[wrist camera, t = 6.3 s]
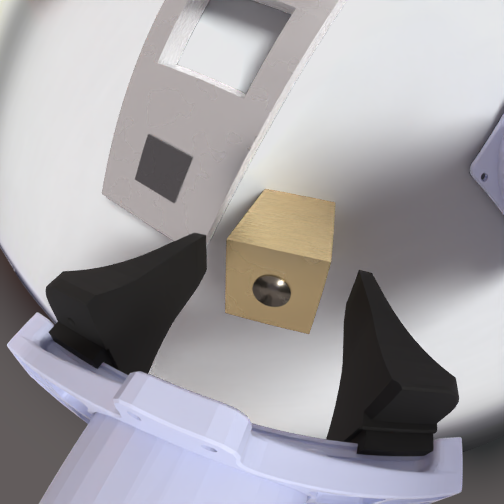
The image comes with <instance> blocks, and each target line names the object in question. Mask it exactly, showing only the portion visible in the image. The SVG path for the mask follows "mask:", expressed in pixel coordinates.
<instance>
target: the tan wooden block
mask: <svg viewBox="0 0 504 504" xmlns="http://www.w3.org/2000/svg"><path fill="white" fill-rule="evenodd" d="M334 217H335V203H334V202H330V201H325V200H320V199H316V198H311V197H306V196H301V195H296V194H291V193H285V192H280V191H274V190H269V189H265V190H264V191H263V192H262V193H261V195H260V196H259V197H258V199H257V200H256V201H255V202H254V204H253V205H252V206H251V208H250V209H249V210H248V212H247V213H246V214H245V215H244V217H243V218H242V219H241V221H240V222H239V223H238V225H237V226H236V227H235V229H234V230H233V231H232V233H231V234H230V235H229V237H228V238H227V240H226V291H225V313H228V314H231V315H235V316H239V317H242V318H246V319H250V320H254V321H258V322H261V323H265V324H269V325H273V326H277V327H281V328H285V329H290V330H294V331H298V332H302V333H307V334H309V333H310V330H311V327H312V324H313V321H314V318H315V315H316V311H317V308H318V305H319V302H320V299H321V295H322V292H323V289H324V285H325V282H326V278H327V275H328V271H329V268H330V264H331V257H332V245H333V232H334Z"/></svg>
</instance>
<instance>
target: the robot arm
mask: <svg viewBox="0 0 504 504" xmlns="http://www.w3.org/2000/svg"><path fill="white" fill-rule="evenodd" d="M483 173H485V178H484V179H483V180H481V175H482V174H483ZM470 174H471V175H472V177H473V178H474V179H475V180H476V181H477V183H478V184H479V185H480V186H481V187H482V188H483V190H484V191H485V192H486V193H487V194H488V196H489V197H490V198H491V199H492V201H493V202H494V203H495V204H496V206H497V207H498V208H499V210H500V211H501V212H502V214H503V215H504V114H503V115H502V117H501V119H500V121H499V122H498V124H497V126H496V127H495V129H494V131H493V132H492V134H491V135H490V137H489V139H488V140H487V142H486V143H485V145H484V146H483V148H482V149H481V151H480V152H479V154H478V155H477V157H476V158H475V160H474V161H473V163H472V164H471V166H470ZM206 270H207V261H206V235H204V234H199V233H192V234H189V235H187V236H185V237H183V238H180V239H178V240H176V241H174V242H172V243H170V244H168V245H165V246H163V247H161V248H159V249H156V250H154V251H152V252H149V253H147V254H145V255H142V256H139V257H137V258H134V259H131V260H128V261H124V262H121V263H117V264H113V265H109V266H105V267H100V268H94V269H87V270H78V271H63V272H62V273H61V274H60V275H59V276H58V277H56V278H55V279H54V280H53V281H52V282H51V283H50V284H49V285H48V286H47V287H46V296H47V299H48V302H49V304H50V306H51V308H52V310H53V312H54V314H55V316H56V318H57V320H58V322H57V323H56V324H55V325H53V323H52V322H51V321H50V320H48V319H47V318H45V317H44V316H42V315H41V314H39V313H36V314H35V315H34V316H33V317H32V318H31V319H30V320H29V321H28V322H27V323H26V324H25V325H24V326H23V328H22V329H21V330H20V331H19V332H18V333H17V334H16V335H15V336H14V337H13V338H12V339H11V340H10V342H9V343H8V344H7V346H8V348H9V349H10V351H11V352H12V353H13V355H14V356H15V357H16V358H17V360H18V361H19V362H20V364H21V365H22V366H23V368H24V369H25V370H26V371H27V372H28V374H29V375H30V376H31V377H32V378H33V379H34V380H35V381H37V382H38V383H39V384H40V385H41V386H42V387H43V388H44V389H45V390H47V391H48V392H49V393H50V394H51V395H52V396H54V397H55V398H56V399H57V400H58V401H59V402H61V403H62V404H63V405H64V406H66V407H67V408H68V409H69V410H71V411H72V412H73V413H74V414H76V415H77V416H78V417H80V418H81V419H82V420H84V421H85V422H86V423H88V425H87V427H86V428H85V430H84V431H83V433H82V435H81V436H80V438H79V439H78V441H77V442H76V444H75V445H74V447H73V448H72V450H71V452H70V453H69V455H68V456H67V458H66V460H65V462H64V463H63V464H62V466H61V468H60V469H59V471H58V473H57V474H56V476H55V477H54V479H53V481H52V482H51V484H50V486H49V487H48V489H47V491H46V493H45V495H44V496H43V498H42V499H41V501H40V503H39V504H429V503H432V502H435V501H439V500H441V499H444V498H447V497H450V496H453V495H455V494H458V493H460V492H461V491H462V438H460V437H455V438H440V439H436V440H434V441H433V433H436V432H437V423H438V422H439V421H440V420H441V419H443V418H444V417H445V416H446V415H448V414H449V413H450V412H451V411H452V410H453V409H454V408H455V407H456V405H457V404H458V402H459V395H458V388H457V382H456V378H455V377H454V376H453V375H451V374H450V373H449V372H448V371H446V370H445V369H444V368H442V367H441V366H440V365H439V364H438V363H437V362H436V361H435V360H433V359H432V358H431V357H430V356H429V355H428V354H427V353H426V352H425V351H424V350H423V349H422V348H421V346H420V345H419V344H418V343H417V342H416V341H415V340H414V339H413V337H412V336H411V335H410V334H409V332H408V331H407V330H406V328H405V327H404V326H403V324H402V323H401V322H400V320H399V319H398V317H397V316H396V314H395V313H394V311H393V310H392V308H391V306H390V305H389V303H388V301H387V300H386V298H385V296H384V294H383V292H382V291H381V289H380V287H379V285H378V283H377V282H376V280H375V278H374V276H373V274H372V273H369V272H365V271H361V270H359V272H358V275H357V277H356V280H355V283H354V285H353V288H352V291H351V293H350V296H349V298H348V301H347V303H346V310H345V318H344V339H343V366H342V374H341V380H340V386H339V391H338V396H337V401H336V405H335V409H334V413H333V417H332V421H331V425H330V428H329V432H328V435H327V439H320V438H315V437H309V436H304V435H299V434H294V433H289V432H285V431H280V430H276V429H272V428H268V427H264V426H260V425H256V424H253V423H251V422H250V420H249V418H248V417H247V416H246V415H245V414H243V413H242V412H241V411H239V410H238V409H236V408H234V407H232V406H229V405H227V404H225V403H222V402H220V401H217V400H214V399H211V398H208V397H205V396H202V395H200V394H197V393H194V392H192V391H189V390H186V389H184V388H181V387H179V386H176V385H174V384H171V383H169V382H167V381H164V380H162V379H160V378H157V377H155V376H153V375H150V374H148V373H149V370H150V368H151V365H152V363H153V361H154V359H155V356H156V354H157V352H158V350H159V348H160V346H161V344H162V342H163V340H164V338H165V336H166V334H167V332H168V330H169V328H170V326H171V325H172V323H173V321H174V320H175V318H176V317H177V315H178V314H179V313H180V311H181V310H182V308H183V307H184V306H185V304H186V303H187V301H188V300H189V299H190V297H191V296H192V294H193V293H194V292H195V290H196V289H197V287H198V286H199V284H200V282H201V280H202V278H203V276H204V274H205V272H206Z"/></svg>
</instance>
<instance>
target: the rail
mask: <svg viewBox="0 0 504 504" xmlns="http://www.w3.org/2000/svg"><path fill="white" fill-rule="evenodd" d="M209 1H210V0H165V1H164V3H163V5H162V7H161V9H160V11H159V13H158V15H157V17H156V19H155V21H154V23H153V25H152V27H151V29H150V32H149V34H148V36H147V38H146V41H145V43H144V45H143V48H142V50H141V53H140V55H139V58H138V60H137V63H136V65H135V68H134V71H133V74H132V76H131V79H130V82H129V85H128V88H127V91H126V94H125V97H124V101H123V104H122V107H121V111H120V114H119V118H118V121H117V125H116V129H115V133H114V136H113V141H112V145H111V149H110V154H109V158H108V163H107V168H106V173H105V178H104V184H103V190H102V194H103V195H105V196H106V197H108V198H109V199H111V200H112V201H114V202H115V203H117V204H118V205H120V206H121V207H123V208H124V209H126V210H127V211H129V212H130V213H132V214H133V215H135V216H136V217H138V218H139V219H141V220H142V221H144V222H145V223H147V224H148V225H150V226H151V227H153V228H154V229H156V230H158V231H159V232H161V233H162V234H164V235H165V236H167V237H168V238H170V239H172V240H173V241H176V240H178V239H180V238H183V237H185V236H187V235H189V234H192V233H199V234H204V235H206V245H207V244H208V242H209V241H210V240H211V238H212V236H213V234H214V232H215V230H216V228H217V226H218V224H219V222H220V220H221V218H222V216H223V214H224V212H225V210H226V208H227V206H228V204H229V202H230V200H231V198H232V197H233V195H234V193H235V191H236V189H237V187H238V185H239V183H240V181H241V179H242V177H243V176H244V174H245V172H246V170H247V168H248V166H249V164H250V162H251V161H252V159H253V157H254V155H255V153H256V151H257V149H258V148H259V146H260V144H261V142H262V140H263V139H264V137H265V135H266V133H267V131H268V130H269V128H270V126H271V124H272V122H273V121H274V119H275V117H276V115H277V114H278V112H279V110H280V108H281V107H282V105H283V103H284V101H285V100H286V98H287V96H288V94H289V93H290V91H291V89H292V88H293V86H294V84H295V83H296V81H297V79H298V78H299V76H300V74H301V73H302V71H303V69H304V68H305V66H306V64H307V63H308V61H309V59H310V58H311V56H312V54H313V53H314V51H315V50H316V48H317V46H318V45H319V43H320V42H321V40H322V38H323V37H324V35H325V34H326V32H327V31H328V29H329V27H330V26H331V24H332V23H333V21H334V20H335V18H336V17H337V15H338V14H339V12H340V11H341V9H342V8H343V6H344V5H345V3H346V2H347V0H252V1H255V2H258V3H261V4H264V5H267V6H270V7H273V8H275V9H278V10H281V11H283V12H286V13H288V14H291V17H290V19H289V20H288V22H287V23H286V25H285V27H284V28H283V30H282V31H281V33H280V35H279V36H278V38H277V40H276V41H275V43H274V45H273V47H272V48H271V50H270V52H269V53H268V55H267V57H266V59H265V60H264V62H263V64H262V66H261V68H260V69H259V71H258V73H257V75H256V77H255V78H254V80H253V82H252V84H251V86H250V88H249V90H248V92H247V93H246V94H245V93H243V92H241V91H239V90H237V89H235V88H233V87H230V86H228V85H226V84H224V83H222V82H219V81H217V80H215V79H212V78H210V77H208V76H205V75H203V74H200V73H198V72H195V71H193V70H190V69H188V68H185V67H182V66H180V65H177V64H178V62H179V60H180V57H181V55H182V53H183V51H184V49H185V47H186V45H187V43H188V40H189V38H190V36H191V34H192V32H193V30H194V29H195V27H196V25H197V23H198V21H199V19H200V17H201V15H202V13H203V12H204V10H205V8H206V6H207V5H208V3H209Z"/></svg>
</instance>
